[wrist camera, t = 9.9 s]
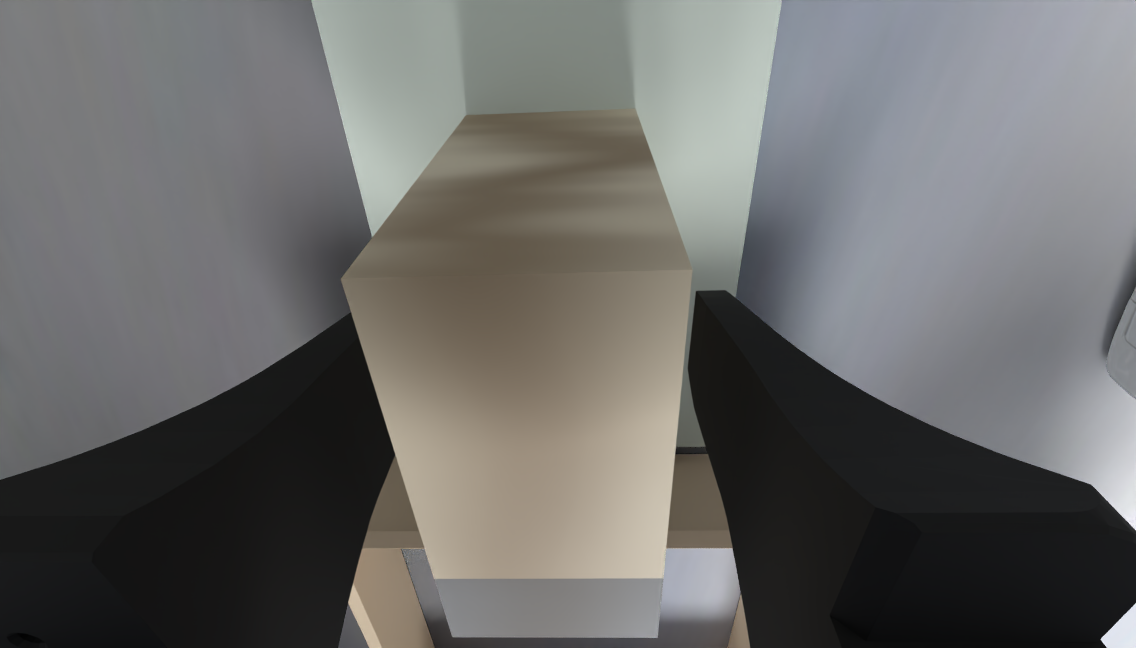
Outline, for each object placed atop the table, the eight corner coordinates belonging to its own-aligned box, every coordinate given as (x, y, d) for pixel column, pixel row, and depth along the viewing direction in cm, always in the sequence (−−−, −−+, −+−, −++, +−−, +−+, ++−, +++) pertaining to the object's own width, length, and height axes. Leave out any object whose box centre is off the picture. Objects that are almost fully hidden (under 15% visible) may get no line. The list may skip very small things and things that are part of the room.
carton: (809, 380, 18) (896, 541, 13) (726, 687, 30) (755, 831, 25) (330, 387, 18) (238, 542, 14) (438, 684, 31) (410, 825, 26)
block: (635, 108, 13) (692, 269, 6) (628, 375, 17) (657, 637, 10) (465, 114, 13) (340, 278, 6) (502, 377, 17) (452, 637, 11)
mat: (787, -100, 11) (797, -103, 11) (709, 434, 19) (712, 446, 19) (304, -76, 11) (291, -78, 11) (430, 436, 20) (426, 449, 19)
